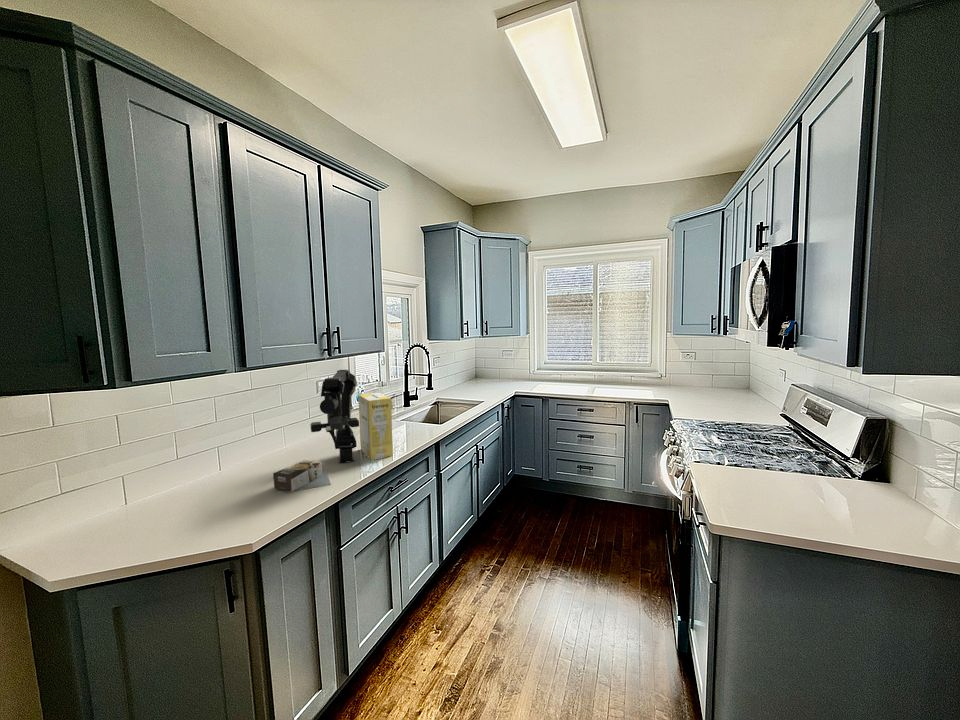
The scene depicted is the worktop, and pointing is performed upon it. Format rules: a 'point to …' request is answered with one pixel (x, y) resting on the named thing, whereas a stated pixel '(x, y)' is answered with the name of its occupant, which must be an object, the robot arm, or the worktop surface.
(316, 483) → the mat
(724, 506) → the worktop surface
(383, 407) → the pasta box
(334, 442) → the robot arm
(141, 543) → the worktop surface
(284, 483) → the coffee box
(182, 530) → the worktop surface
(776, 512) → the worktop surface
